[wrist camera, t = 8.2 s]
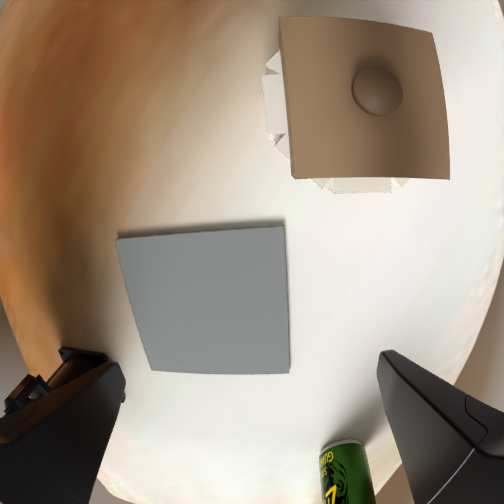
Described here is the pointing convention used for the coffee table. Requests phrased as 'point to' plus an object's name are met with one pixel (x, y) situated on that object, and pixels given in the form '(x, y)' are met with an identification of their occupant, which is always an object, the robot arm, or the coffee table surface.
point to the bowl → (279, 132)
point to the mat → (210, 299)
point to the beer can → (345, 474)
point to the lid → (362, 100)
